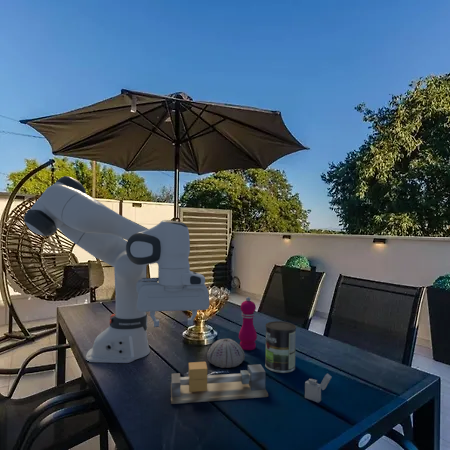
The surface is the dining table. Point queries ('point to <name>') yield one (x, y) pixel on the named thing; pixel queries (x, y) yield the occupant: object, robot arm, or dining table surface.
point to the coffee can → (280, 346)
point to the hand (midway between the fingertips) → (173, 326)
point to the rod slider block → (222, 386)
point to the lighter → (315, 388)
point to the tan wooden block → (197, 376)
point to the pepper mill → (248, 326)
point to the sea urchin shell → (225, 353)
